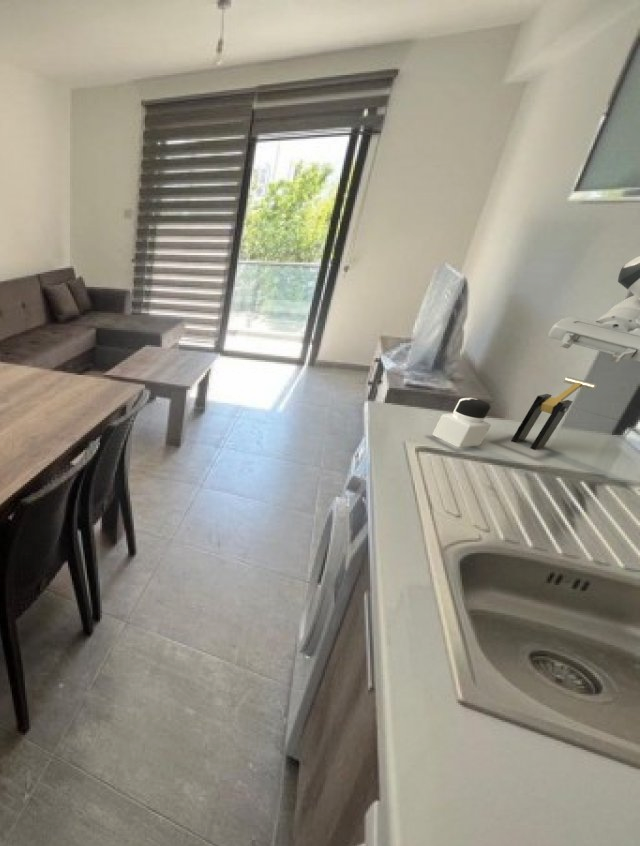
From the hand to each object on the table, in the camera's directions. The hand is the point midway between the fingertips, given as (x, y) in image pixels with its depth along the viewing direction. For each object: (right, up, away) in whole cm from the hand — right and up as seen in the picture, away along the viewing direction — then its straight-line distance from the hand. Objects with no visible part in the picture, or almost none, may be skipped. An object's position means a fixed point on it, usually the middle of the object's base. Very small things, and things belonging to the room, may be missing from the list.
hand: (589, 351), depth 120 cm
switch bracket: (-15, -24, +2) cm, 28 cm away
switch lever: (-10, -12, -3) cm, 16 cm away
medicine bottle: (-33, -23, +2) cm, 40 cm away
